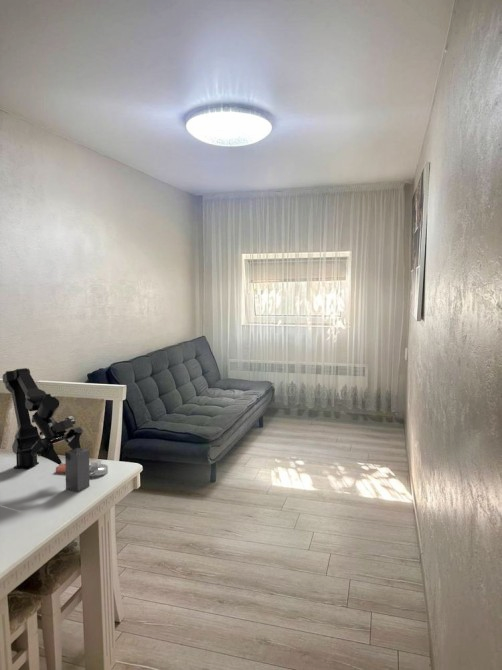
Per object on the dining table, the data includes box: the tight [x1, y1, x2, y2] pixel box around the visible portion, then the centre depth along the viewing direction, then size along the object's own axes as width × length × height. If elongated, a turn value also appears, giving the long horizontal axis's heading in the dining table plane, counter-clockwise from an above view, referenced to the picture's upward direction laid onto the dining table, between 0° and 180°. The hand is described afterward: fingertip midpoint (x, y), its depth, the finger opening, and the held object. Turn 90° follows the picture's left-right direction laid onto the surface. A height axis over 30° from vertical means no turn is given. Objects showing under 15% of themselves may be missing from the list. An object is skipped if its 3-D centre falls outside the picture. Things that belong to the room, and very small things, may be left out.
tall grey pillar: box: [64, 447, 90, 493], centre depth 151 cm, size 5×5×13 cm
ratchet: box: [55, 459, 109, 479], centre depth 165 cm, size 19×8×4 cm, turn 82°
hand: (71, 459), depth 152 cm, fingers open, 9 cm apart
